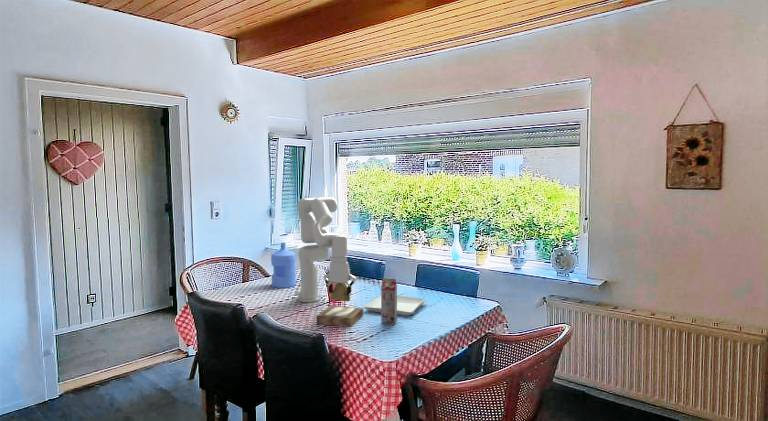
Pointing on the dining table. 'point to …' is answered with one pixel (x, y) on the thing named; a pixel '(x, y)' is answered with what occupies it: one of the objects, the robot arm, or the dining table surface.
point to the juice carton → (388, 301)
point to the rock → (340, 292)
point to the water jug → (283, 268)
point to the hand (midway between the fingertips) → (340, 293)
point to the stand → (339, 316)
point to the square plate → (403, 305)
